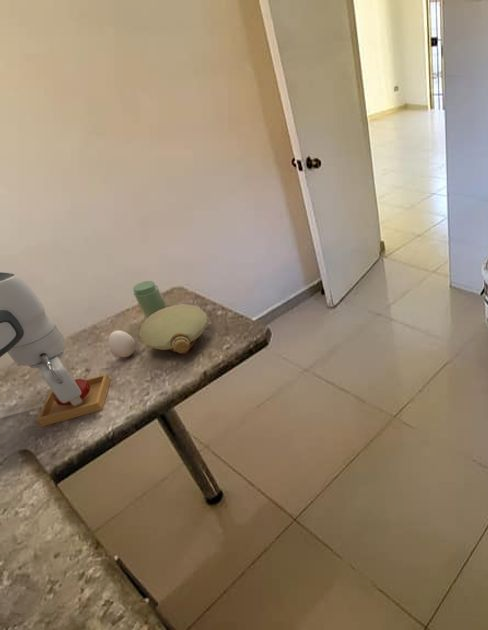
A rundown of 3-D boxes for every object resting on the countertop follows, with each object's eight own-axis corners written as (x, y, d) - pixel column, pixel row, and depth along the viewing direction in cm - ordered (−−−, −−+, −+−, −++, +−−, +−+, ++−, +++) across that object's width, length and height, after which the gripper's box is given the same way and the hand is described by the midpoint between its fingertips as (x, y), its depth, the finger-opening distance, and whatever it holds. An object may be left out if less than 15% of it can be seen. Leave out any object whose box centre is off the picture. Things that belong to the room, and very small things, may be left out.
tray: (42, 426, 91) (36, 419, 89) (56, 394, 99) (50, 388, 97) (102, 409, 94) (97, 402, 93) (111, 380, 102) (106, 373, 100)
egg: (140, 357, 108) (126, 333, 104) (116, 364, 106) (101, 341, 102) (139, 346, 112) (127, 323, 108) (116, 353, 110) (102, 330, 106)
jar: (147, 326, 120) (130, 293, 114) (148, 315, 124) (131, 283, 118) (170, 319, 122) (155, 287, 116) (170, 309, 126) (155, 277, 120)
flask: (207, 317, 121) (223, 351, 109) (144, 339, 114) (155, 378, 102) (195, 289, 115) (211, 322, 103) (129, 311, 109) (138, 349, 96)
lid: (93, 381, 98) (89, 375, 97) (86, 400, 93) (82, 394, 92) (60, 390, 97) (56, 384, 96) (52, 409, 92) (48, 403, 91)
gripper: (68, 358, 83) (103, 409, 91) (45, 320, 95) (77, 367, 103) (28, 376, 79) (68, 427, 87) (9, 333, 91) (46, 381, 99)
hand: (73, 394), depth 95 cm, fingers closed on lid, 6 cm apart
